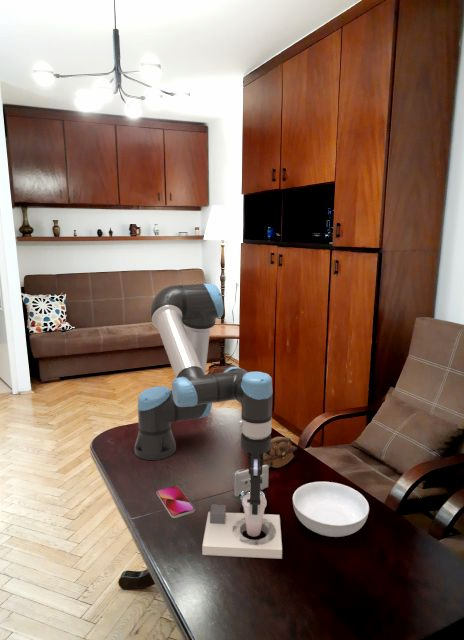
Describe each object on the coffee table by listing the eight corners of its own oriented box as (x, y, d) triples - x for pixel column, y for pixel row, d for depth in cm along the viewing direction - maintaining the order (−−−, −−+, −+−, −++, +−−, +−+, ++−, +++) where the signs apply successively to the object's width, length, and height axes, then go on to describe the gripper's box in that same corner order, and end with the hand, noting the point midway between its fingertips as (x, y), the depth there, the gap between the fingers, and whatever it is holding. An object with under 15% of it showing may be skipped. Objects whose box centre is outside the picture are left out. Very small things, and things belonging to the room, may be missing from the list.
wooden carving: (264, 476, 149) (265, 449, 147) (255, 470, 153) (256, 443, 151) (299, 461, 159) (300, 435, 157) (289, 456, 163) (290, 430, 161)
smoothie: (263, 522, 123) (265, 477, 119) (267, 539, 117) (269, 492, 113) (240, 523, 122) (241, 478, 119) (242, 541, 116) (243, 494, 112)
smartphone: (177, 484, 143) (196, 509, 130) (177, 487, 143) (196, 512, 131) (155, 490, 140) (172, 517, 127) (155, 493, 140) (172, 520, 127)
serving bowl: (369, 509, 132) (370, 488, 131) (365, 556, 113) (367, 532, 112) (299, 495, 139) (300, 475, 138) (284, 538, 120) (285, 515, 118)
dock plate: (208, 519, 127) (208, 502, 126) (279, 522, 126) (279, 505, 125) (202, 554, 113) (202, 535, 112) (281, 558, 112) (282, 539, 111)
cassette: (236, 498, 137) (236, 475, 136) (233, 495, 139) (233, 472, 137) (269, 488, 143) (269, 466, 141) (266, 485, 144) (266, 463, 143)
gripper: (242, 417, 123) (241, 493, 127) (239, 451, 104) (238, 538, 109) (269, 418, 122) (268, 494, 127) (272, 452, 104) (269, 540, 108)
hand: (254, 514), depth 118 cm, fingers closed on smoothie, 6 cm apart
